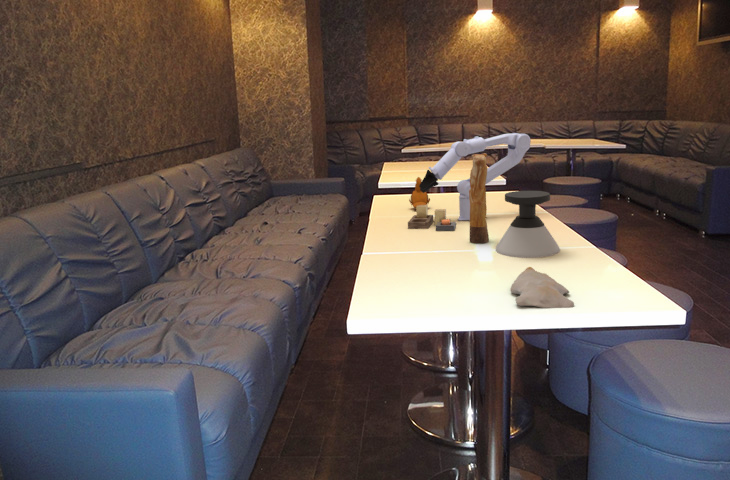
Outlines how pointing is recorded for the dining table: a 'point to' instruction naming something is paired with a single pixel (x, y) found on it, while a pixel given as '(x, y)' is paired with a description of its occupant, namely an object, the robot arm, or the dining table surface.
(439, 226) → the button housing
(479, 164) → the sculpture
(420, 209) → the block
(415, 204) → the toy
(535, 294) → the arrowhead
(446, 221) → the button
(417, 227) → the brown compartment tray
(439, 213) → the block
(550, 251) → the light fixture
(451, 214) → the dining table surface
